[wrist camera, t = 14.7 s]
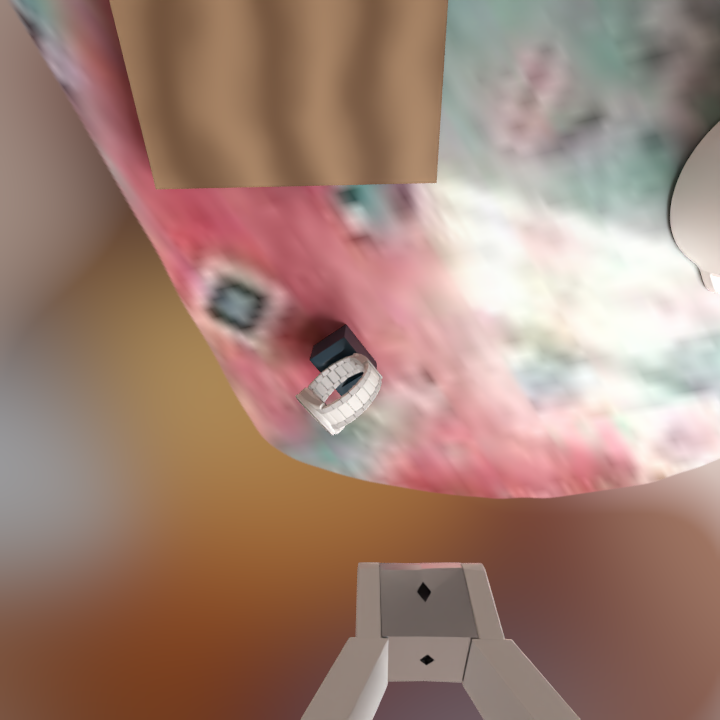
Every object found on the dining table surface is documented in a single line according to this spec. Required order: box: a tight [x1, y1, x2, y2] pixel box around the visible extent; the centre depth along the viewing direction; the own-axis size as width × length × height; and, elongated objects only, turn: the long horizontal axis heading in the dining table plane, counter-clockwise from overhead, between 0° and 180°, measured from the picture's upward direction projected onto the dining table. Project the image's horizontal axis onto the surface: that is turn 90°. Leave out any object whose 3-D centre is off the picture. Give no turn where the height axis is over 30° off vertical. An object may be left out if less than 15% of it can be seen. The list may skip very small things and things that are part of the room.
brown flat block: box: [109, 0, 448, 189], centre depth 28 cm, size 22×18×4 cm
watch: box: [296, 325, 382, 435], centre depth 37 cm, size 6×8×11 cm
